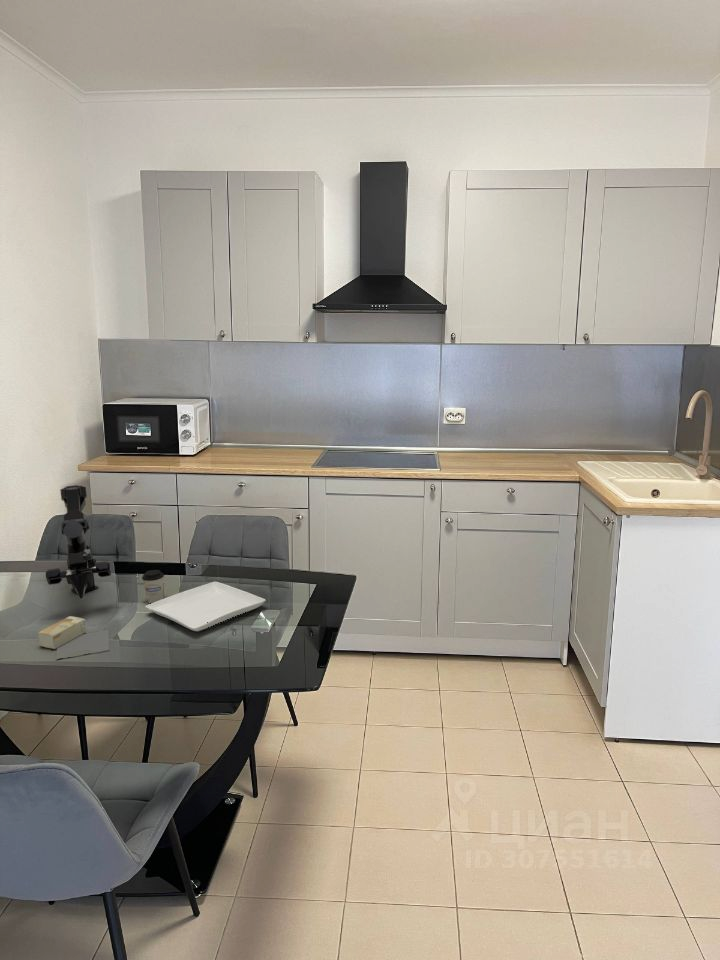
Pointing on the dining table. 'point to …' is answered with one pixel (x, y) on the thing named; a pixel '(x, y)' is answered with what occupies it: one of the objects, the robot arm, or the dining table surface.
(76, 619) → the skincare box
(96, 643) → the mat
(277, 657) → the dining table surface
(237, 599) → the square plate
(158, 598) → the coffee cup
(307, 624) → the dining table surface
